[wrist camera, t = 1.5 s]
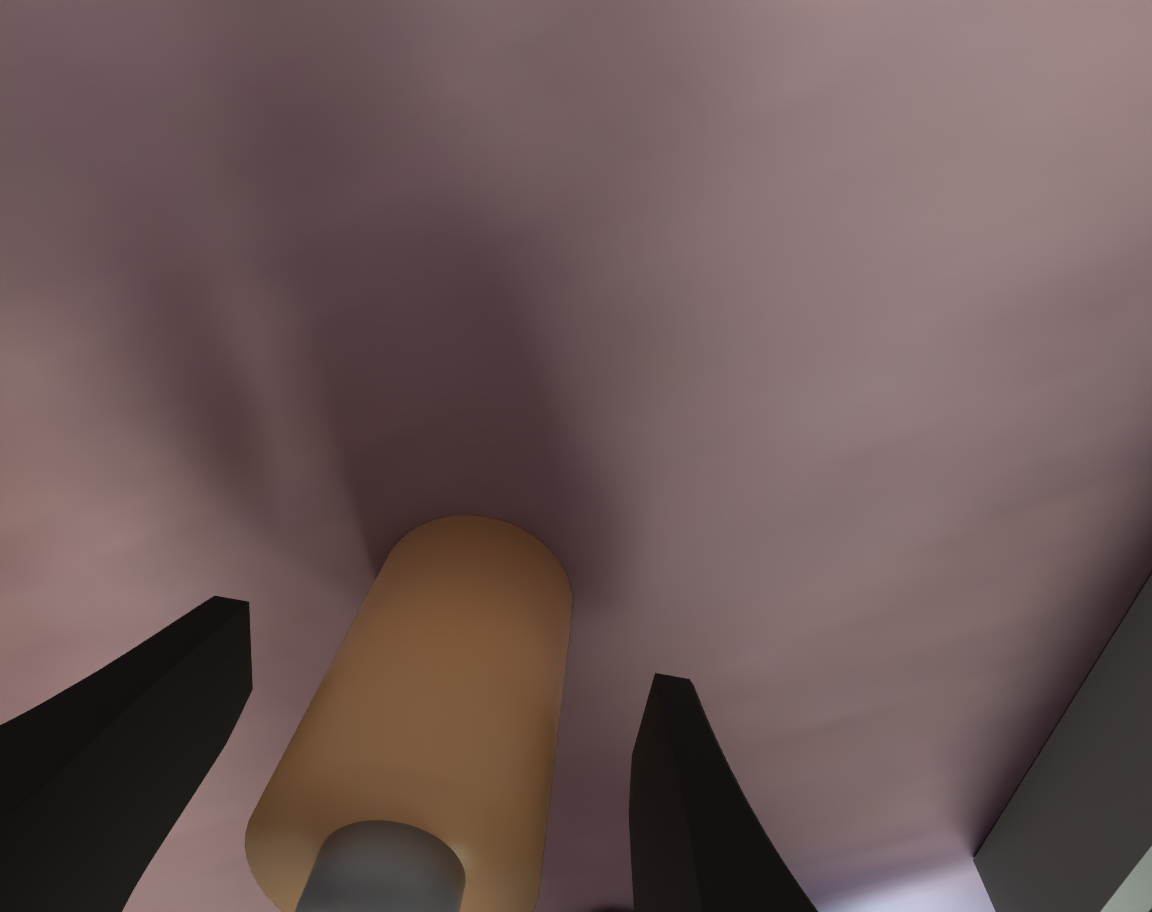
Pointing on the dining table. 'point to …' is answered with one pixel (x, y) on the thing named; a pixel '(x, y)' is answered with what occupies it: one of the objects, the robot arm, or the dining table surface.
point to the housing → (1086, 795)
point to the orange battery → (427, 736)
